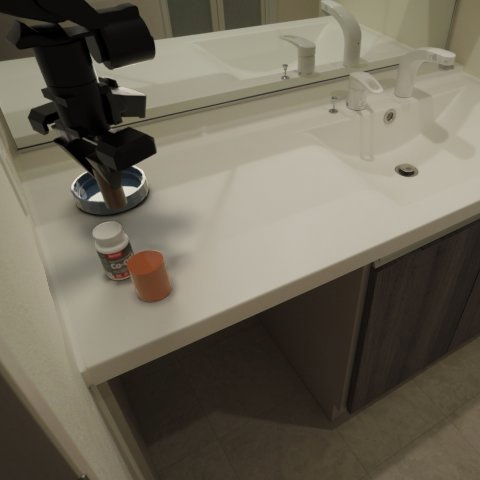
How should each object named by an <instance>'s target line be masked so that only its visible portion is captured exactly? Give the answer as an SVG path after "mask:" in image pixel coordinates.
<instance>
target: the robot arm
mask: <svg viewBox="0 0 480 480" xmlns="http://www.w3.org/2000/svg"><path fill="white" fill-rule="evenodd" d="M0 14H3V15H7V16H12V17H16V18H15V19H13V24H12V26H11V28H10V29H9V31H8V32H7V34H6V35H5V36H4V39H5V41H6V42H7V43H8V44H10V45H11V46H13V47H14V48H15V49H17V50H19V51H23V50H29V49H31V51H32V53H33V55H34V56H33V57H34V58H35V61H36V64H37V66H38V69H39V70H40V73H41V75H42V79H43V80H44V83H45V85H46V87H43V88H41V89H40V91H41V93H42V96H43V98H45V99H47V100H49V101H50V102H47V103H44V104H41V105H38V106H36V107H33V108H31V109H30V110H29V113H28V115H27V119H28V121H29V124H30V126H31V128H32V130H33V131H34V132H36V133H39V134H40V135H42V136H47V135H48V134H49V133H50V128H51V129H52V130H53V131H54V132H55V133H56V135H57V137H55V138H54V139H53V144H55V145H56V146H58V147H59V148H60V149H61V150H62V151H63V152H64V153H66V154H67V155H68V156H69V157H70V158H72V160H73V161H75V162H76V163H77V164H78V165H80V167H81V168H82V169H83V170H85V172H86V171H87V172H88V173H89V174H90V175H91V176H92V177H93V178H95V176H94V173H93V170H92V168H91V166H93V167H94V168H95V169H96V171H97V172H98V173H99V174H100V175H101V177H102V178H103V179H104V180H105V181H106V182H107V184H108V185H109V186H110V187H111V188H112V189H113V190H117V189H119V188H121V182H122V171H124V170H126V169H128V168H130V167H132V166H136V165H138V164H139V163H142V162H143V161H145V160H147V159H148V158H150V157H152V156H154V155H156V154H157V153H158V149H157V145H156V140H155V137H153V136H151V135H149V134H147V133H145V132H143V131H140V130H138V129H136V128H133V127H131V126H127V127H125V128H123V129H121V128H117V129H113V128H112V127H111V126H118V125H121V124H122V123H124V121H123V118H139V119H145V118H146V116H147V115H146V114H147V94H145V93H142V92H140V91H137V90H134V89H132V88H130V87H124V86H121V85H119V84H118V81H117V80H116V79H115V78H111V77H109V76H102V75H101V76H98V74H97V71H96V67H95V64H94V62H96V63H97V64H98V65H100V64H103V66H104V67H105V68H106V69H108V70H110V71H114V70H118V69H123V68H125V67H130V66H135V65H138V64H142V63H146V62H150V61H153V60H154V59H155V57H156V54H157V53H156V50H157V49H156V42H155V38H154V36H153V35H152V34H151V31H150V29H149V26H148V25H147V24H146V21H145V20H144V19H143V18H142V16H141V15H140V10H139V7H138V6H137V5H136V4H133V3H132V2H131V3H130V2H125V3H124V2H123V3H119V4H118V5H115V6H109V7H104V8H99V9H95V8H94V7H93V6H92V5H91V4H90V3H88V2H87V1H86V0H0ZM20 19H26V20H31V21H38V22H43V23H38V24H32V25H28V24H26V22H23V21H22V20H20ZM67 21H69V22H71V23H74V24H75V25H74V26H73V25H72V26H65V27H63V26H62V25H61V23H62V24H63V23H65V22H67ZM93 61H94V62H93ZM48 125H51V126H50V128H49V126H48ZM95 179H96V178H95Z"/></svg>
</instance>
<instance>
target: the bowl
mask: <svg viewBox="0 0 480 480" xmlns="http://www.w3.org/2000/svg"><path fill="white" fill-rule="evenodd" d="M121 184H122V187H123V190H124V193H125V196H126V199H127V205H126V206H125V207H123V208H121V209H118V210H110V209H108V208H107V207H106V204H105V202H104V199H103V196H102V194H101V191H100V189H99V186H98V183H97V181H96V179H95V178H93V177H92V176H91V175H90V174H89V173H88V172H87V171H86V170H85V171H84V172H82V173H81V174H79V175H78V176H77V177H76V178H75V179H74V180H73V181H72V183H71V185H70V193H71V195H72V197H73V200H74V202H75V204H76V206H77V208H79V209H81V211H83V212H85V213H89V214H92V215H101V216H103V215H104V216H108V215H116V214H119V213H123V212H126V211H128V210H131V209H132V208H135V207H136V206H137V205H139V204H140V203H142V202H143V200H144V199H146V197H147V196H148V193H149V190H150V188H149V183H148V179H147V177H146V173H145V172H144V171H143V169H142V168H140V167H138V166H136V165H134V166H132V167H130V168H128V169H126V170H124V171H122V182H121Z"/></svg>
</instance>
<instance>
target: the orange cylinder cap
mask: <svg viewBox="0 0 480 480" xmlns="http://www.w3.org/2000/svg"><path fill="white" fill-rule="evenodd" d="M127 268H128V271H129V273H130V279H131V281H132V284H133V287H134V289H135V292H136V295H137V297H138V298H139V299H140V300H142V301H143V302H147V303H155V302H159V301H161V300H164V299H165V298H166V297H167V296H169V295H170V293H171V291H172V288H173V284H172V281H171V277H170V274H169V271H168V267H167V264H166V262H165V257H164V255H163V254H162V253H161V252H160V251H159V250H154V249H145V250H141V251H139V252H138V251H137V252H136V253H134V255H133V256H132V257H131V258H130V259H129V261H128V263H127Z"/></svg>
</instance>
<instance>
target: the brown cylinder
mask: <svg viewBox="0 0 480 480" xmlns="http://www.w3.org/2000/svg"><path fill="white" fill-rule="evenodd" d="M91 168H92V170H93V173H94V176H95V178H96V181H97V183H98V186H99V189H100V191H101V194H102V196H103V199H104V202H105V204H106V207H107V208H108V209H110V210H118V209H121V208H123V207H125V206H126V205H127V199H126V196H125V193H124V190H123V187H122V184H121V188H119V189H117V190H113V189H112V188H111V187H110V186H109V185H108V184H107V182H106V181H105V180H104V179H103V178H102V177H101V175H100V174H99V173H98V172H97V171H96V169H95V168H94V167H93V166H91Z"/></svg>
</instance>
